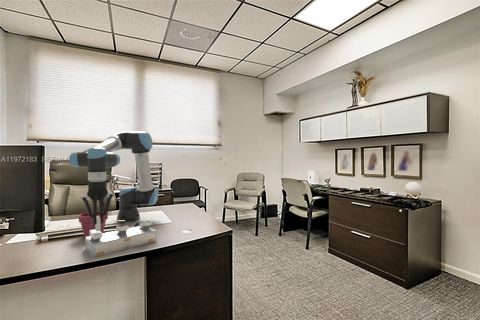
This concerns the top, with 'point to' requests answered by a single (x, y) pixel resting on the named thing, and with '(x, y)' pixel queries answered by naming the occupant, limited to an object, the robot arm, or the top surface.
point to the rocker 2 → (122, 228)
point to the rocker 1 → (95, 234)
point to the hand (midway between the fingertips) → (98, 230)
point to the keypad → (137, 224)
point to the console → (119, 240)
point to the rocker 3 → (145, 223)
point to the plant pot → (90, 223)
